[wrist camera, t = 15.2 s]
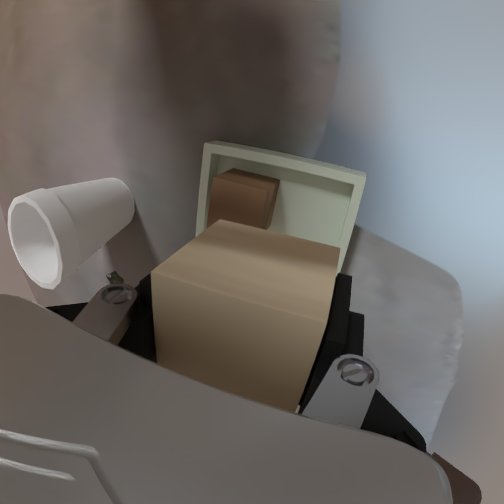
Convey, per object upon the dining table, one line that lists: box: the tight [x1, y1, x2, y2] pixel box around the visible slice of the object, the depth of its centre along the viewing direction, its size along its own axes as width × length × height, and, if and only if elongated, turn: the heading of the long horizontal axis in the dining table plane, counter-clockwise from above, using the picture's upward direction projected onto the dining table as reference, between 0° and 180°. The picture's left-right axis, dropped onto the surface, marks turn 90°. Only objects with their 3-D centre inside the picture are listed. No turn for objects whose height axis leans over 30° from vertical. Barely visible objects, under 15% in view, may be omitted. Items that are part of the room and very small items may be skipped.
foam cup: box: [8, 177, 135, 289], centre depth 30 cm, size 10×9×13 cm
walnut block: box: [206, 168, 280, 230], centre depth 27 cm, size 4×4×4 cm
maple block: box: [151, 219, 340, 412], centre depth 10 cm, size 4×4×4 cm
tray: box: [195, 140, 366, 276], centre depth 29 cm, size 15×14×3 cm
